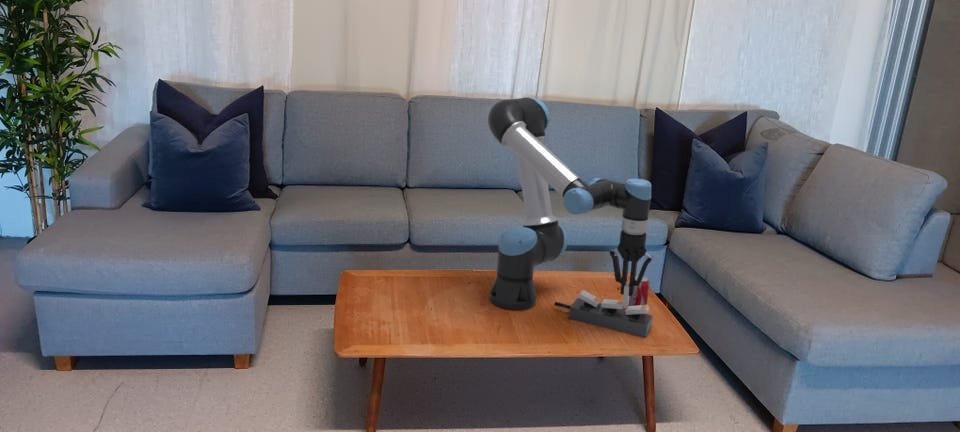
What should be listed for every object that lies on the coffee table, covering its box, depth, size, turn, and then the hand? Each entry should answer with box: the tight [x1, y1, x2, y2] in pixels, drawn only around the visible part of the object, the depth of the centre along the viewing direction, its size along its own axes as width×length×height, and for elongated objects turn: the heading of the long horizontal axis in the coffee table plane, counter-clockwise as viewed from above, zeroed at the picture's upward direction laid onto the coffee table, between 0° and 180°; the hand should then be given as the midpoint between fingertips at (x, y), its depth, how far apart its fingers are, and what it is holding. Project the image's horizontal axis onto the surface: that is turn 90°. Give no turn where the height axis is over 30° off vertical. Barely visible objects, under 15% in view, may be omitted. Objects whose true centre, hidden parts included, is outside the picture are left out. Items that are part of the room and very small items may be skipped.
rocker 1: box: [577, 289, 602, 307], centre depth 226 cm, size 6×4×2 cm, turn 67°
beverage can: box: [625, 274, 651, 309], centre depth 230 cm, size 6×6×12 cm
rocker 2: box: [600, 298, 625, 309], centre depth 223 cm, size 6×4×2 cm, turn 65°
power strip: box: [553, 297, 654, 339], centre depth 224 cm, size 30×8×5 cm, turn 66°
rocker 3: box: [625, 304, 650, 315], centre depth 220 cm, size 6×4×2 cm, turn 65°
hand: (625, 304), depth 221 cm, fingers closed
